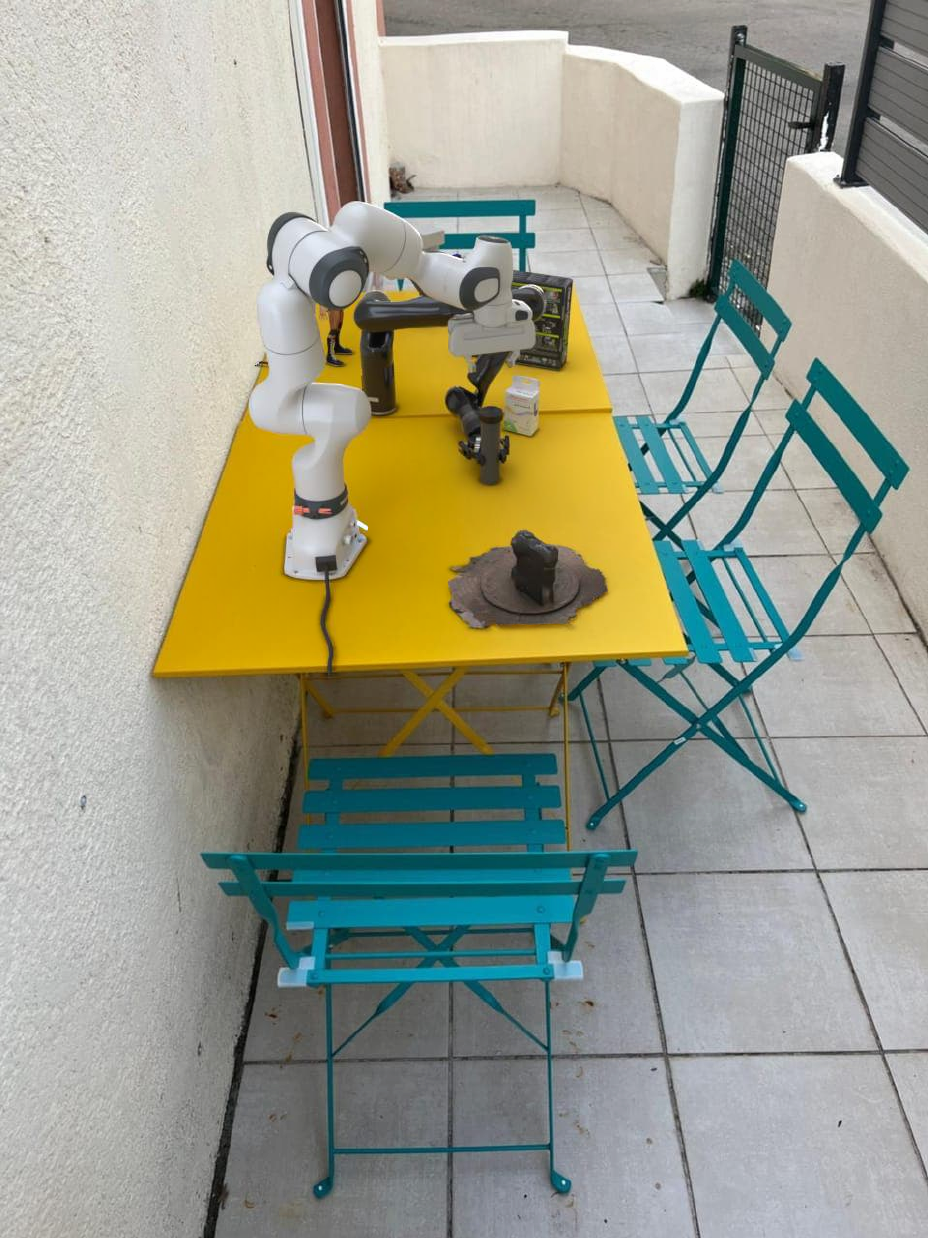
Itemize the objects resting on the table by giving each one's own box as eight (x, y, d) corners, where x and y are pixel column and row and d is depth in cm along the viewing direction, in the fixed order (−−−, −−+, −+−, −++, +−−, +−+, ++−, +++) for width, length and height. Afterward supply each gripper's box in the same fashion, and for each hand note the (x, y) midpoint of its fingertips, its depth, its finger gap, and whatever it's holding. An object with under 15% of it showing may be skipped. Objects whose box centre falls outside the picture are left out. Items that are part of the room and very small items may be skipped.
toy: (460, 304, 319) (459, 216, 299) (477, 312, 313) (477, 222, 294) (381, 329, 302) (375, 237, 283) (398, 337, 296) (393, 244, 277)
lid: (478, 413, 218) (478, 406, 217) (501, 412, 218) (501, 405, 217) (479, 424, 214) (479, 417, 212) (503, 424, 214) (503, 416, 213)
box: (567, 361, 281) (574, 276, 264) (561, 371, 276) (566, 284, 258) (470, 346, 291) (469, 262, 273) (461, 355, 285) (460, 270, 268)
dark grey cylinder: (479, 475, 229) (480, 408, 217) (498, 474, 229) (500, 407, 217) (481, 485, 225) (481, 417, 213) (500, 484, 225) (501, 417, 213)
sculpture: (594, 649, 177) (601, 586, 167) (427, 621, 184) (424, 559, 174) (615, 555, 202) (623, 495, 191) (467, 533, 209) (467, 474, 198)
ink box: (503, 429, 247) (504, 380, 238) (510, 422, 250) (512, 373, 241) (531, 436, 244) (533, 386, 234) (538, 429, 247) (541, 379, 238)
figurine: (337, 375, 275) (327, 277, 255) (318, 373, 276) (306, 275, 256) (359, 343, 293) (351, 250, 273) (341, 342, 294) (332, 248, 274)
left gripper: (451, 321, 194) (451, 380, 203) (539, 311, 198) (536, 369, 207) (444, 310, 199) (445, 368, 208) (530, 301, 203) (528, 358, 212)
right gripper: (450, 420, 230) (464, 452, 217) (503, 414, 232) (521, 445, 220) (450, 445, 235) (465, 478, 222) (503, 439, 237) (520, 471, 224)
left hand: (491, 369), depth 208 cm, fingers open, 8 cm apart
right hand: (492, 461), depth 221 cm, fingers closed on dark grey cylinder, 5 cm apart
